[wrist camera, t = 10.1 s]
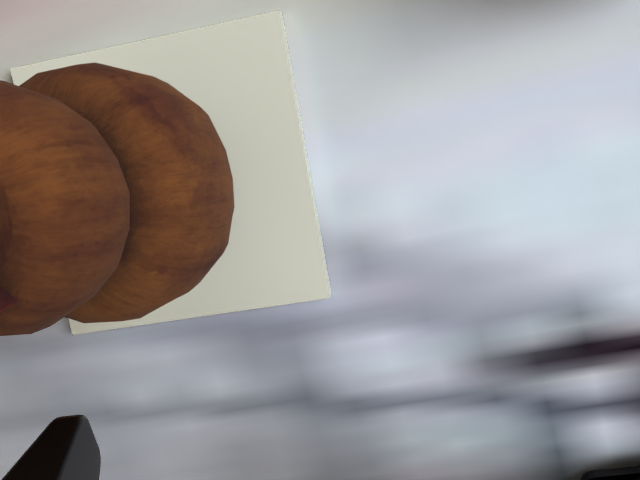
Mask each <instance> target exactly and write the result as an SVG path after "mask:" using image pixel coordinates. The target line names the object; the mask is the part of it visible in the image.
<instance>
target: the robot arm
mask: <svg viewBox="0 0 640 480" xmlns="http://www.w3.org/2000/svg"><path fill="white" fill-rule="evenodd" d="M100 464H101V458H100V450H99V447H98V444H97V442H96V439H95V436H94V434H93V431H92V429H91V426H90V424H89V421H88V419H87V418H86V417H85V416H84V415H72V416H63V417H58V418H56V419H54V420H53V421H52V422H51V423H50V424H49V425H48V426H47V427H46V428H45V430H44V431H43V432H42V433H41V434H40V435H39V437H38V438H37V439H36V440H35V441H34V442H33V444H32V445H31V446H30V447H29V448H28V450H27V451H26V452H25V453H24V454H23V455H22V457H21V458H20V459H19V460H18V461H17V462H16V464H15V465H14V466H13V467H12V468H11V469H10V471H9V472H8V473H7V474H6V475H5V476H4V478H3V479H2V480H99V475H100ZM581 480H640V466H639V467H629V468H618V469H608V470H598V471H591V472H587V473H586V474H584V475H583V476H582V478H581Z"/></svg>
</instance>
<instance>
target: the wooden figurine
mask: <svg viewBox="0 0 640 480" xmlns="http://www.w3.org/2000/svg"><path fill="white" fill-rule="evenodd" d="M233 212H234V190H233V177H232V173H231V169H230V165H229V161H228V156H227V152H226V149H225V147H224V145H223V143H222V141H221V139H220V137H219V135H218V133H217V131H216V129H215V127H214V125H213V123H212V121H211V119H210V117H209V115H208V114H207V113H206V112H205V111H204V110H203V109H202V108H201V107H200V106H199V105H197V104H196V103H195V102H193V101H192V100H190V99H189V98H188V97H186V96H185V95H184V94H182V93H181V92H180V91H178V90H177V89H175V88H174V87H173V86H171V85H170V84H169V83H167V82H164V81H162V80H160V79H158V78H156V77H154V76H150V75H146V74H141V73H137V72H133V71H129V70H125V69H121V68H116V67H112V66H108V65H104V64H100V63H96V62H94V63H86V64H78V65H72V66H68V67H63V68H58V69H54V70H49V71H44V72H40V73H37V74H35V75H34V76H32V77H31V78H30V79H28V80H27V81H25V82H24V83H22V84H21V85H20V86H17V85H14V84H11V83H8V82H5V81H0V336H6V335H21V334H32V333H34V332H37V331H39V330H42V329H44V328H47V327H49V326H51V325H53V324H54V323H56V322H57V321H59V320H60V319H62V318H63V317H66V318H69V319H72V320H75V321H78V322H81V323H99V322H118V321H127V320H134V319H140V318H142V317H144V316H145V315H147V314H149V313H151V312H153V311H154V310H156V309H158V308H160V307H162V306H164V305H165V304H167V303H169V302H171V301H173V300H174V299H176V298H178V297H180V296H182V295H184V294H186V293H188V292H190V291H191V290H192V289H193V288H194V287H195V286H197V285H198V284H199V283H200V282H201V281H202V279H203V278H204V277H205V276H206V274H207V273H208V272H209V271H210V269H211V268H212V267H213V266H214V264H215V263H216V262H217V261H218V259H219V258H220V257H221V256H222V254H223V253H224V251H225V249H226V247H227V245H228V242H229V235H230V229H231V223H232V216H233Z"/></svg>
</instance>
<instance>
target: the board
mask: <svg viewBox="0 0 640 480" xmlns="http://www.w3.org/2000/svg"><path fill="white" fill-rule="evenodd" d="M94 62H96V63H100V64H104V65H108V66H112V67H116V68H121V69H125V70H129V71H133V72H137V73H141V74H146V75H150V76H154V77H156V78H158V79H160V80H162V81H164V82H167V83H169V84H170V85H171V86H173V87H174V88H175V89H177V90H178V91H180V92H181V93H182V94H184V95H185V96H186V97H188V98H189V99H190V100H192V101H193V102H195V103H196V104H197V105H199V106H200V107H201V108H202V109H203V110H204V111H205V112H206V113H207V114H208V115H209V117H210V119H211V121H212V123H213V125H214V127H215V129H216V131H217V133H218V135H219V137H220V139H221V141H222V143H223V145H224V147H225V149H226V152H227V156H228V161H229V165H230V169H231V173H232V177H233V190H234V212H233V216H232V223H231V229H230V235H229V242H228V245H227V247H226V249H225V251H224V253H223V254H222V256H221V257H220V258H219V259H218V261H217V262H216V263H215V264H214V266H213V267H212V268H211V269H210V271H209V272H208V273H207V274H206V276H205V277H204V278H203V279H202V281H201V282H200V283H199V284H198V285H197V286H195V287H194V288H193V289H192V290H191V291H190V292H188V293H186V294H184V295H182V296H180V297H178V298H176V299H174V300H173V301H171V302H169V303H167V304H165V305H164V306H162V307H160V308H158V309H156V310H154V311H153V312H151V313H149V314H147V315H145V316H144V317H142V318H140V319H134V320H127V321H118V322H99V323H81V322H78V321H75V320H72V319H69V318H68V319H69V323H70V328H71V332H72V335H76V334H83V333H90V332H97V331H104V330H111V329H118V328H125V327H132V326H139V325H146V324H153V323H160V322H167V321H174V320H181V319H187V318H194V317H201V316H208V315H215V314H222V313H229V312H236V311H243V310H250V309H257V308H264V307H271V306H278V305H285V304H292V303H299V302H306V301H313V300H320V299H327V298H330V297H331V294H332V293H331V288H330V282H329V276H328V271H327V265H326V259H325V253H324V248H323V242H322V236H321V231H320V225H319V219H318V213H317V208H316V202H315V196H314V191H313V185H312V179H311V174H310V168H309V162H308V156H307V151H306V145H305V139H304V134H303V128H302V122H301V117H300V111H299V105H298V99H297V94H296V88H295V82H294V77H293V71H292V65H291V60H290V54H289V48H288V42H287V37H286V31H285V25H284V20H283V14H282V13H281V12H280V10H279V11H274V12H270V13H265V14H260V15H256V16H251V17H246V18H242V19H237V20H233V21H228V22H223V23H219V24H214V25H209V26H205V27H200V28H196V29H191V30H186V31H182V32H177V33H172V34H168V35H163V36H159V37H154V38H149V39H145V40H140V41H136V42H131V43H126V44H122V45H117V46H112V47H108V48H103V49H99V50H94V51H89V52H85V53H80V54H75V55H71V56H66V57H62V58H57V59H52V60H48V61H43V62H39V63H34V64H29V65H25V66H20V67H15V68H11V69H10V71H11V75H12V79H13V84H14V85H17V86H20V85H21V84H22V83H24V82H25V81H27V80H28V79H30V78H31V77H32V76H34V75H35V74H37V73H40V72H44V71H49V70H54V69H58V68H63V67H68V66H72V65H78V64H86V63H94Z"/></svg>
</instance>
